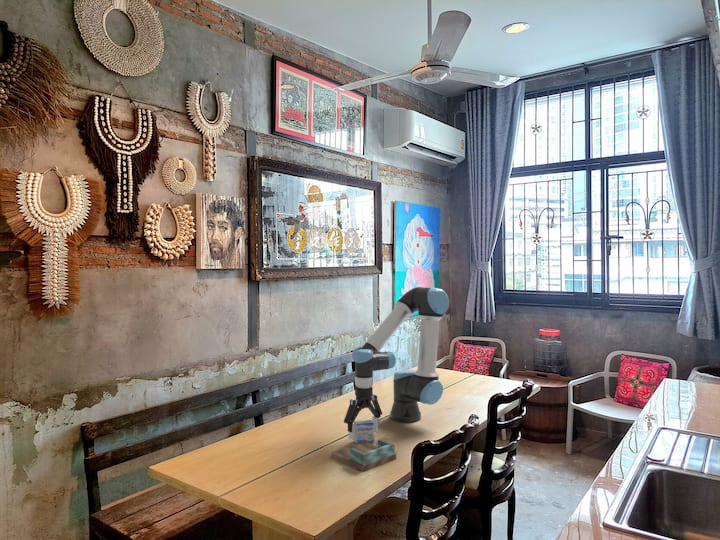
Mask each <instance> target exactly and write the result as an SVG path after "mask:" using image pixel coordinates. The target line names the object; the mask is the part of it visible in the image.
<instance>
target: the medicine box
mask: <svg viewBox="0 0 720 540" xmlns="http://www.w3.org/2000/svg"><path fill="white" fill-rule="evenodd" d="M353 424H354V440H353V441H354V442H355V445H356V444H359V443H361V442H364V441H366V442H368V443H371V444H374V443H375V432H374V422H373V421H372V419H367V420H357V421H354V422H353Z"/></svg>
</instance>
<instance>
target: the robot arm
mask: <svg viewBox="0 0 720 540" xmlns="http://www.w3.org/2000/svg"><path fill="white" fill-rule="evenodd" d="M449 307H450V299H449V295H448V294H447V293H446V291H445V290H443V289H441V288H437V287H425V286H424V287H423V286H416V287H413V288H411V289H409V290H408V291H407V292H405V293H404V294H403V295H402V296H401V297H400V298H399V299H398V300H397V301H396V302H395V307H394V308H393V309H392V310H391V312H389V314H388V315H387V316H386V318H384V320H383V322H381V324H379V326H378V327H377V328H376V329H375V331H374V332H373V333H372V334H371V336H370V337H369V338H368V339H367V341H365V343H364V344H363V345H362V346H358V347H355V348H354V349H353V351H352V354H351V355H352V356H351V357H352V360H353V361H354V364H355V365H354V367H355V368H354V370H355V373H354V375H355V376H354V378H355V379H354V382H355V383H354V385H355V387H354V395H355V399H352V398H351V399H350V400H349V406H348V407H347V411H346V414H345V417H344V419H343V423H344V424H347V432H348V439H349V440H351V441H354V421H355V420H357V419H356V418H357V417H358V415H359V414H360V412H361V411H362V410H364V409H368V410H369V411H370V412H371V414H372V415H373V416H372V417H371V420H372V421H373V422H374V434H378V430H379V429H378V425H379V419H380V418H381V416H382V415H383V411H382V408H381V406H380V404H379V400H378V395H376V394H373V393H374V392H373V390H374V389H373V383H374V382H373V380H374V379H373V378H374V375H373V374H374V372H376V371H383V370H389V369H393V368H395V366H396V363H397V361H396V359H397V358H396V356H395V354H394V353H393V352H392V351H381V350H382V349H383V348H384V346H385V345H386V344H387V343H388V341H389V340H390V339H391V338H392V336H393V335H394V334H396V331H398V329H399V328H400V327H401V325H402V324H404V322H405V320H406V319H407V318H409V317H412V315H413V314H415V313H416V312H418V313H417V316H418V317H419V318H420V329H419V331H420V332H419V344H418V356H417V357H418V359H417V370H414V369H409V370H407V369H406V370H398V371H396V372H394V374H393V403H392V405H391V410H390V412H389V414H390V415H389V418H390V419H391V420H392V421H394V422H400V423H414V422H418V421H420V420H421V418H422V413H421V411H420V406H419V403H418V402H420V403H422V404H424V405H429V406H431V405H435V404H437V402H439V400H440V399H441V398H442V396H443V392H444V385H443V383H442V382H441V381H439V377H440V374H438V373H437V362H438V361H437V360H438V359H437V357H438V346H439V331H440V329H439V328H440V320H442V319H443V317H444V314H445V313H446V312H447V311H448V309H449Z"/></svg>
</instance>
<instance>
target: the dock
mask: <svg viewBox="0 0 720 540" xmlns="http://www.w3.org/2000/svg"><path fill="white" fill-rule="evenodd" d="M395 445H396V444H395V443H392V442H390V441H388V440H384V439H382V438H378V439H377V445H376V444H374V443H368V442H366V441H364V442H361V443H359V444H356V443H355V444H353V445H350V446H347V447H344V448H340V449H338V450H335V451H332V452H331V459H334V460H337V461H338V462H340V463H343V464H345V465H347V466H349V467H351V468H352V469H356V470H358V471H360V472H362V473H363V472H366V471H367V470H368V471H369V470H371V469H374V468H376V467H379V466H381V465H384V464H386V463H388V462H391V461H394V460H397V453H396V450H395Z"/></svg>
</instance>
